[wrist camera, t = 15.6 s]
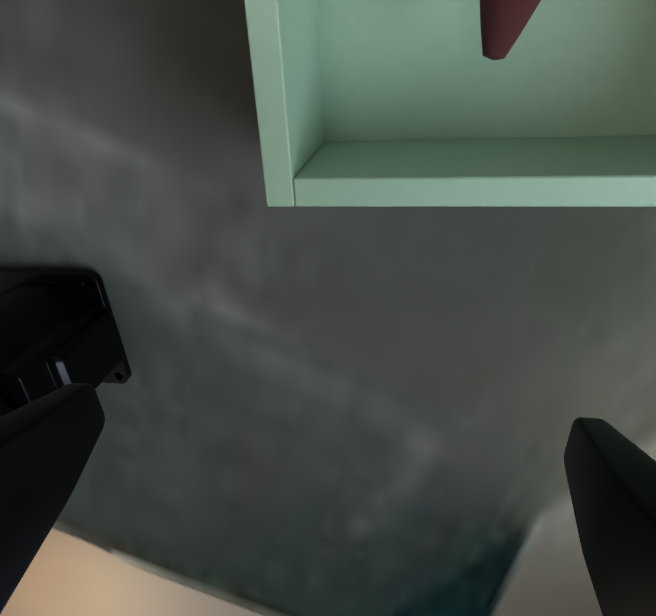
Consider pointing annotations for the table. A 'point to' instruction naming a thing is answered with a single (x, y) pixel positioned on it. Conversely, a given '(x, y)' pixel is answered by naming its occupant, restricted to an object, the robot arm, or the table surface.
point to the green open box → (454, 104)
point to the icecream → (503, 24)
